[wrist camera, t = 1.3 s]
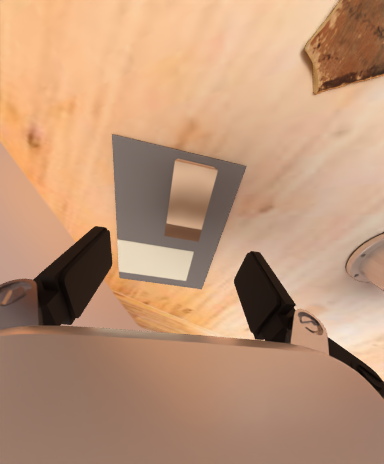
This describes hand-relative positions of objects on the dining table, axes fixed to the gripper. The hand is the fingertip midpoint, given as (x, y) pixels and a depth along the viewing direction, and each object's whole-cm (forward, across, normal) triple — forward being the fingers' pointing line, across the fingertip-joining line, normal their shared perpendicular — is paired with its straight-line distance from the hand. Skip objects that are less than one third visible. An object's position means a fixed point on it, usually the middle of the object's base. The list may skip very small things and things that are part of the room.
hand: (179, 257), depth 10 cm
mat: (+15, +1, +7) cm, 17 cm away
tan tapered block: (+14, -1, 0) cm, 14 cm away
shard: (+15, -15, -20) cm, 29 cm away
